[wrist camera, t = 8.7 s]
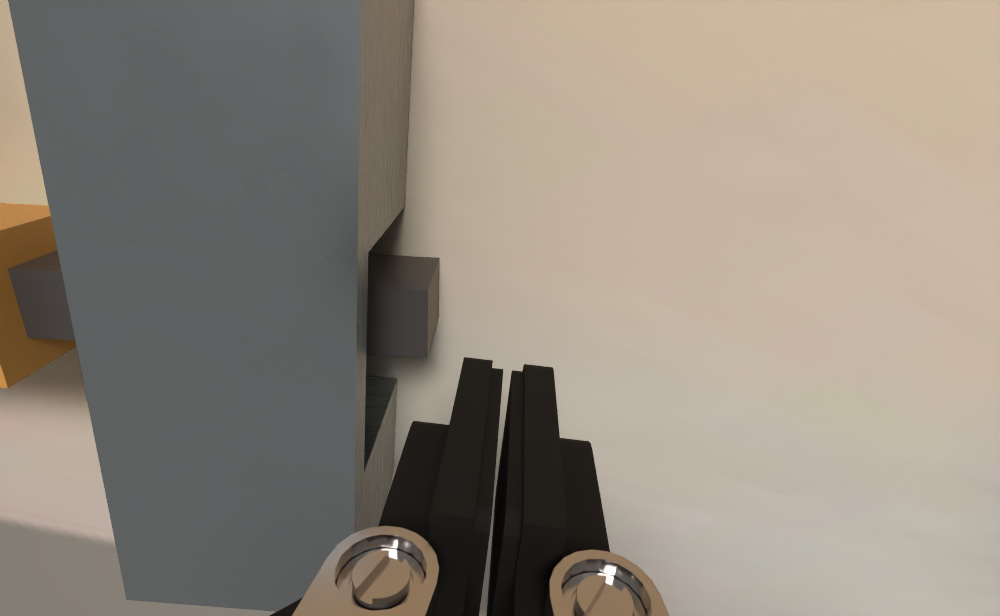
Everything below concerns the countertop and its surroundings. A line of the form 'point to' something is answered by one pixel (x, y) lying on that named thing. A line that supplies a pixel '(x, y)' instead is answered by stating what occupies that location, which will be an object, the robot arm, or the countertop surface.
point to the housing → (225, 271)
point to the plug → (48, 327)
